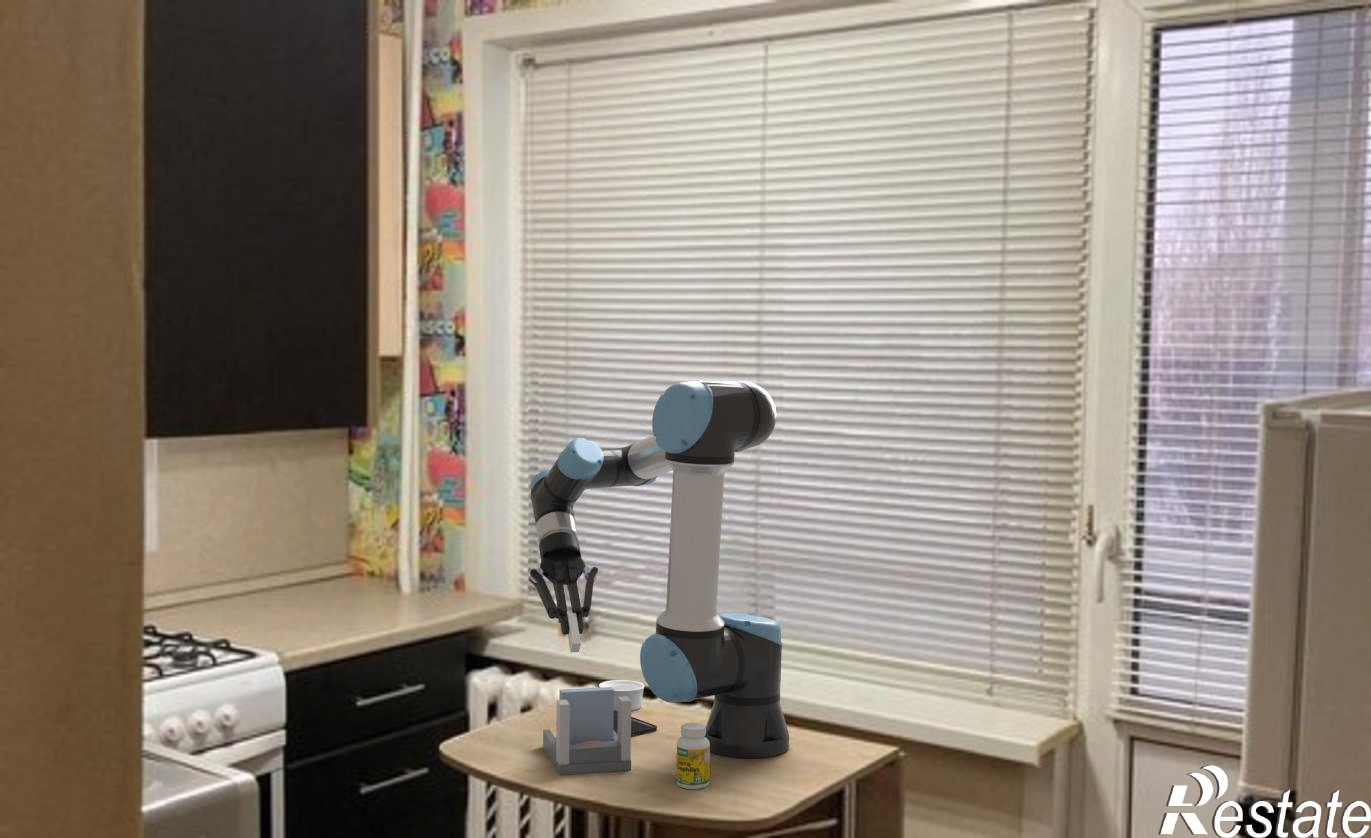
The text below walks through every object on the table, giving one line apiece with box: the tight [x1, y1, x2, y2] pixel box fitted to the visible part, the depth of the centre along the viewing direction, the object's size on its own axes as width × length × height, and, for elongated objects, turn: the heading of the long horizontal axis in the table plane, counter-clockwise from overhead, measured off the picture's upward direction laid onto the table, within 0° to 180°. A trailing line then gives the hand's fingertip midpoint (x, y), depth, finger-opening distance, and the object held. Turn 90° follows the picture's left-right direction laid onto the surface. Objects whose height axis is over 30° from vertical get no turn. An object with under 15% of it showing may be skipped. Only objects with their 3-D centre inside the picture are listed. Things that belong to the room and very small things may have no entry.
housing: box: [542, 696, 632, 776], centre depth 233 cm, size 16×12×12 cm
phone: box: [613, 711, 658, 738], centre depth 254 cm, size 8×1×15 cm
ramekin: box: [598, 679, 645, 712], centre depth 267 cm, size 9×9×4 cm
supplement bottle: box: [675, 722, 711, 790], centre depth 220 cm, size 5×5×10 cm
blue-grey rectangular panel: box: [558, 686, 614, 744], centre depth 233 cm, size 2×9×10 cm, turn 106°
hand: (575, 647), depth 242 cm, fingers closed
